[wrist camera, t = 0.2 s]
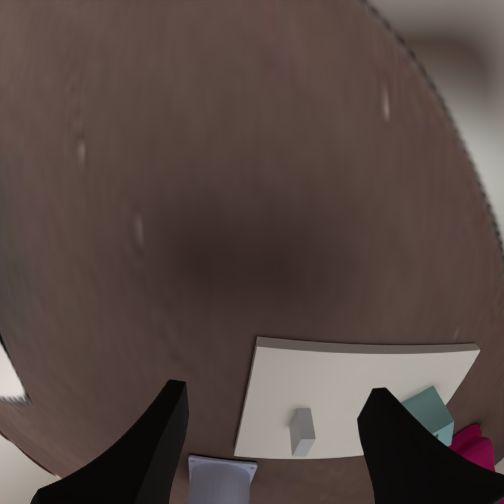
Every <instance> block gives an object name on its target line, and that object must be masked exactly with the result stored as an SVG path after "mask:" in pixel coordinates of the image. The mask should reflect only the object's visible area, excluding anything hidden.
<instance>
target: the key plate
mask: <svg viewBox="0 0 504 504" xmlns="http://www.w3.org/2000/svg"><path fill="white" fill-rule="evenodd" d="M479 352H480V349H479V348H478V347H477V345H476V344H475V343H471V344H450V345H364V344H342V343H325V342H311V341H298V340H287V339H277V338H267V337H258V336H257V340H256V345H255V350H254V355H253V360H252V365H251V370H250V375H249V380H248V385H247V390H246V395H245V400H244V405H243V410H242V415H241V420H240V424H239V429H238V434H237V439H236V443H235V450H234V456H241V457H253V458H272V459H318V458H336V457H349V456H359V455H364V453H363V449H362V446H361V442H360V438H359V431H358V424H357V418H358V416H359V414H360V412H361V410H362V409H363V407H364V405H365V403H366V401H367V399H368V397H369V395H370V393H371V391H372V389H373V388H382V387H386V388H387V389H388V390H389V391H390V392H391V393H392V394H393V395H394V396H395V397H396V398H397V399H398V400H399V402H400V403H401V402H403V401H405V400H407V399H409V398H411V397H413V396H415V395H417V394H419V393H420V392H422V391H424V390H426V389H428V388H430V387H431V386H434V387H435V389H436V391H437V392H438V394H439V396H440V397H441V399H442V401H443V403H444V404H445V405H446V404H447V402H448V401H449V400H450V398H451V397H452V395H453V394H454V392H455V391H456V389H457V388H458V386H459V385H460V383H461V382H462V380H463V379H464V377H465V376H466V374H467V372H468V371H469V369H470V367H471V366H472V364H473V362H474V361H475V359H476V357H477V355H478V354H479Z"/></svg>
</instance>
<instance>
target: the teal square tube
mask: <svg viewBox="0 0 504 504" xmlns="http://www.w3.org/2000/svg"><path fill="white" fill-rule="evenodd" d="M401 404H402V405H403V406H404V407H405V408H406V409H407V410H408V411H409V412H410V413H411V414H412V415H413V416H414V417H415V418H416V419H417V420H418V421H419V422H420V423H421V424H422V425H423V426H424V427H425V428H426V429H427V430H428V431H429V432H430V433H432V434H433V435H434V436H435V437H436V438H437V439H438V440H440V441H441V442H442V443H444V444H445V445H446V446H449V445H451V441H452V434H453V426H454V420H453V419H452V417H451V415H450V413H449V411H448V410H447V408H446V406H445V404H444V403H443V401H442V399H441V397H440V396H439V394H438V392H437V391H436V389H435V387H434V386H431V387H430V388H428V389H426V390H424V391H422V392H420V393H419V394H417V395H415V396H413V397H411V398H409V399H407V400H405V401H403V402H401Z"/></svg>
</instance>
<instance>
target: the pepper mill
mask: <svg viewBox="0 0 504 504" xmlns="http://www.w3.org/2000/svg"><path fill="white" fill-rule="evenodd" d="M481 434H482V431H481V429H480V427H479V426H478V425H477V424H473V425H470V426H468V427H466V428H465V429H463V430H462V431H460V432H459V433H457V434H456V435H455V436H454V437H453V438H452V441H451V445H449V446H448V447H449V448H450V449H452V450H453V451H455V452H456V453H458V454H459V455H461V456H463V457H464V458H466V459H468V460H469V461H471V462H473V463H475V464H477V465H479V466H481V467H484V468H486V469H488V470H491V471H494V472H495V468H494V449H493V445H492V443H491V440H490V439H489V438H486V437H481ZM499 504H504V500H503V501H501V502H500V503H499Z"/></svg>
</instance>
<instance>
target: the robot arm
mask: <svg viewBox="0 0 504 504" xmlns="http://www.w3.org/2000/svg"><path fill="white" fill-rule="evenodd" d="M188 418H189V409H188V398H187V386H186V382H184V381H177V380H171V379H170V380H169V381H167V383H166V384H165V386H164V387H163V389H162V390H161V392H160V393H159V394H158V396H157V397H156V399H155V400H154V401H153V402H152V404H151V405H150V406H149V407H148V409H147V410H146V411H145V412H144V413H143V415H142V416H141V417H140V418H139V419H138V421H137V422H136V423H135V424H134V425H133V426H132V427H131V428H130V429H129V430H128V431H127V432H126V433H125V434H124V435H123V436H122V437H121V438H120V439H119V440H118V441H117V442H116V443H114V444H113V445H112V446H111V447H110V448H109V449H107V450H106V451H105V452H104V453H102V454H101V455H100V456H98V457H97V458H96V459H94V460H93V461H92V462H90V463H89V464H87V465H86V466H84V467H82V468H81V469H79V470H77V471H76V472H74V473H72V474H70V475H69V476H67V477H65V478H63V479H61V480H59V481H57V482H54V483H52V484H50V485H47V486H45V487H43V488H40V489H38V491H37V492H36V494H35V495H34V497H33V499H32V501H31V503H30V504H169V498H170V491H171V486H172V482H173V478H174V475H175V471H176V468H177V464H178V461H179V457H180V454H181V451H182V447H183V444H184V440H185V436H186V430H187V424H188ZM357 424H358V431H359V438H360V442H361V446H362V449H363V453H364V456H365V460H366V463H367V467H368V470H369V474H370V477H371V481H372V485H373V490H374V498H375V504H499V503H500V502H501V501H503V500H504V475H503V474H500V473H497V472H494V471H491V470H488V469H486V468H484V467H481V466H479V465H477V464H475V463H473V462H471V461H469V460H468V459H466V458H464V457H463V456H461V455H459V454H458V453H456V452H455V451H453V450H452V449H450V448H449V447H448V446H446V445H445V444H444V443H442V442H441V441H440V440H438V439H437V438H436V437H435V436H434V435H433V434H432V433H430V432H429V431H428V430H427V429H426V428H425V427H424V426H423V425H422V424H421V423H420V422H419V421H418V420H417V419H416V418H415V417H414V416H413V415H412V414H411V413H410V412H409V411H408V410H407V409H406V408H405V407H404V406H403V405H402V404H401V403H400V402H399V400H398V399H397V398H396V397H395V396H394V395H393V394H392V393H391V392H390V391H389V390H388V389H387V388H386V387H382V388H373V389H372V391H371V393H370V395H369V397H368V399H367V401H366V403H365V405H364V407H363V409H362V410H361V412H360V414H359V416H358V418H357ZM188 460H189V477H190V487H189V493H188V499H187V504H249V497H250V484H251V481H252V479H253V476H254V474H255V471H256V468H257V463H255V462H244V461H233V460H224V459H215V458H208V457H201V456H195V455H190V456H189V458H188Z"/></svg>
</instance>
